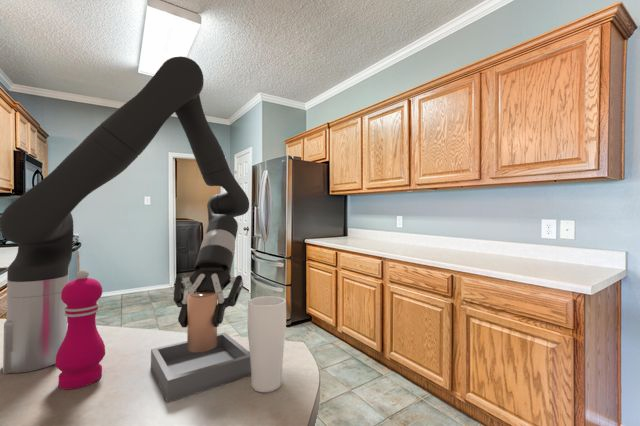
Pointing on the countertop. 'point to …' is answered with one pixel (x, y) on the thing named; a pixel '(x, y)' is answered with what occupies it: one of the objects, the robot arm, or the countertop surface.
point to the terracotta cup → (201, 321)
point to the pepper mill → (80, 334)
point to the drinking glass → (266, 341)
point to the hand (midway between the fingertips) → (199, 325)
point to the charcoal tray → (198, 367)
